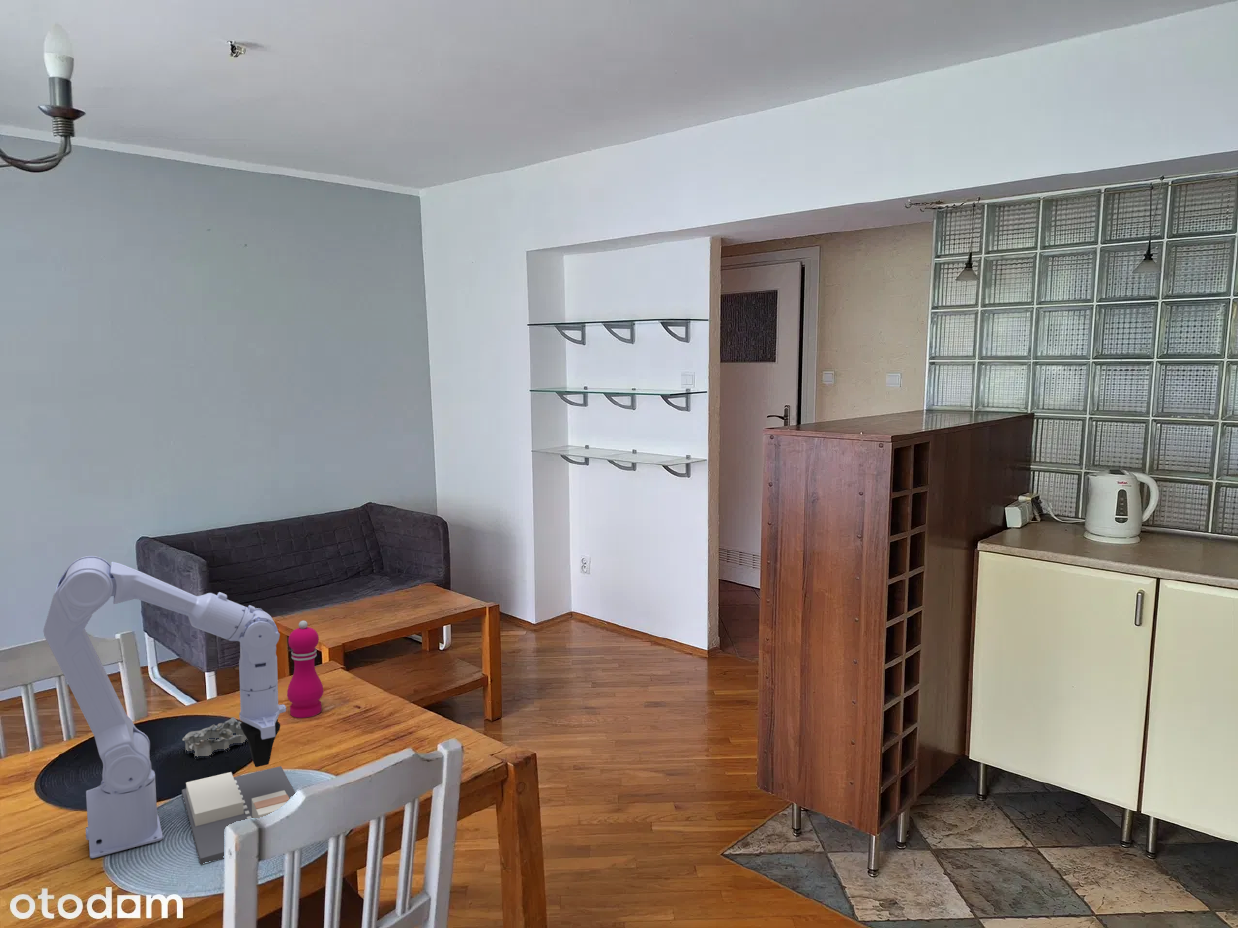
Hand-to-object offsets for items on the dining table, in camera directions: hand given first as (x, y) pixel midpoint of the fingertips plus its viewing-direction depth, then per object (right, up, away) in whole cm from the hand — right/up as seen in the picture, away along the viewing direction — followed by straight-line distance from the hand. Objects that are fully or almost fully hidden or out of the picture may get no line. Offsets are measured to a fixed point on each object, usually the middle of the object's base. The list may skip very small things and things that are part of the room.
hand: (261, 764), depth 137 cm
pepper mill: (-7, -3, +39) cm, 40 cm away
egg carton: (-18, -5, +23) cm, 29 cm away
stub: (+4, -7, -6) cm, 10 cm away
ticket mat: (-2, -7, -2) cm, 8 cm away
